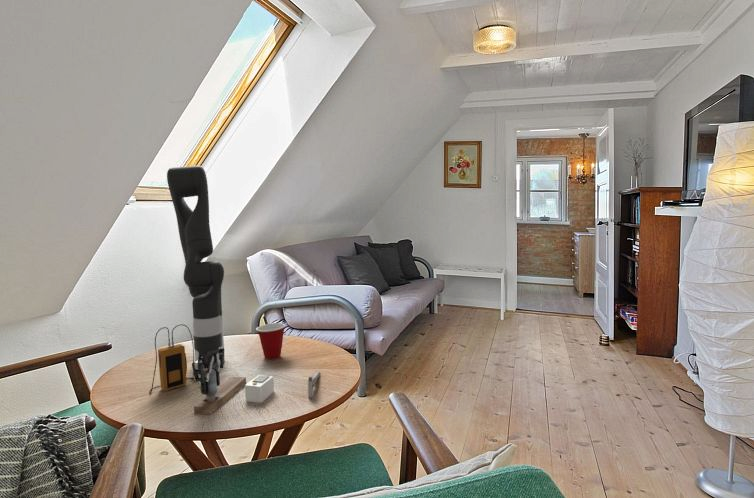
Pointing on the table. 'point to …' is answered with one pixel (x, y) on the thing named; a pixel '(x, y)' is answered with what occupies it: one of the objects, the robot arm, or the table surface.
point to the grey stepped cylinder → (212, 386)
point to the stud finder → (259, 388)
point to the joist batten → (220, 395)
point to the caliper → (312, 383)
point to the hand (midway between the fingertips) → (210, 389)
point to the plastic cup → (271, 339)
